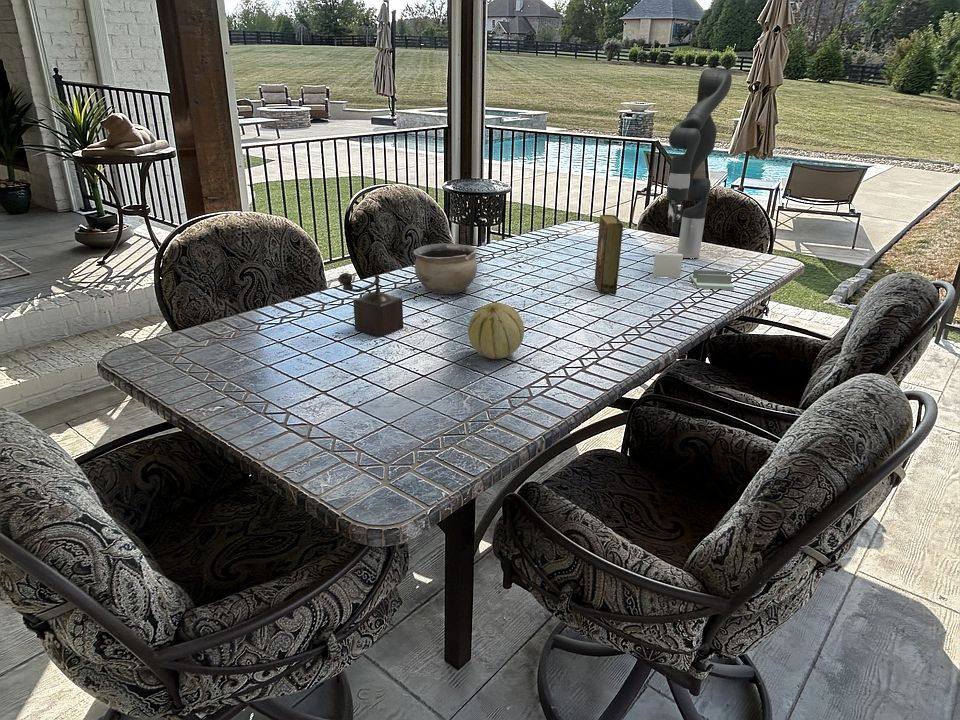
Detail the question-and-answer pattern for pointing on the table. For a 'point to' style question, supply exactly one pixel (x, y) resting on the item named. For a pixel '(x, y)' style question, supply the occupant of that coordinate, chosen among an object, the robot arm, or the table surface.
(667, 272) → the cream rectangular prism
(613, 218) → the book
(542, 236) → the table surface
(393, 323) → the manual coffee grinder
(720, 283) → the dish rack
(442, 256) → the ceramic bowl
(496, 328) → the cantaloupe
